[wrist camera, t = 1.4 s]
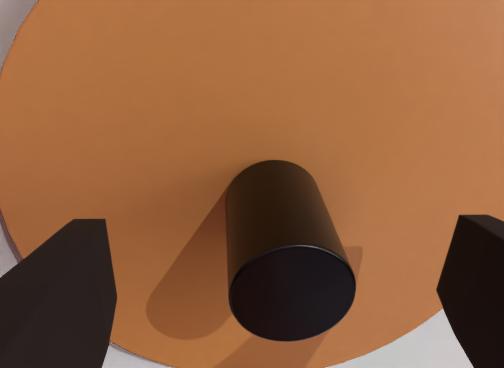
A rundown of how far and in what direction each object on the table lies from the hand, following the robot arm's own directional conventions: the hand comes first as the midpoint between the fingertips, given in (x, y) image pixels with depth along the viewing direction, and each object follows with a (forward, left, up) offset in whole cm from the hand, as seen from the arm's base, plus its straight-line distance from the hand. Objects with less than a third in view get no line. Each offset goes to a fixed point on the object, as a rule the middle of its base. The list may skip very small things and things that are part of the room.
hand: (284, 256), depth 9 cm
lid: (0, 0, -3) cm, 3 cm away
